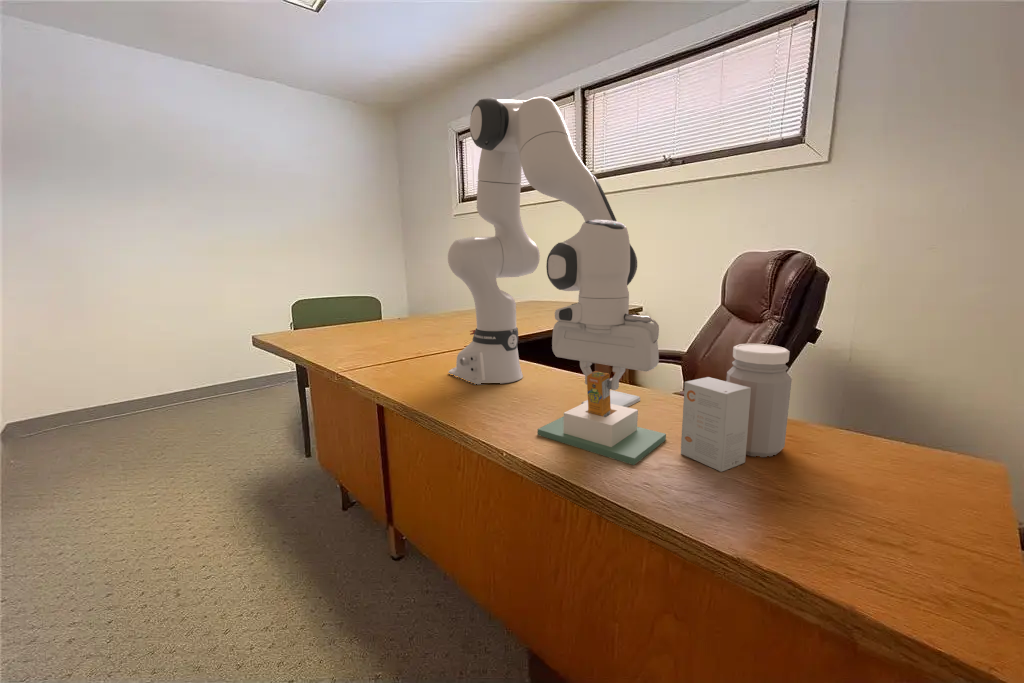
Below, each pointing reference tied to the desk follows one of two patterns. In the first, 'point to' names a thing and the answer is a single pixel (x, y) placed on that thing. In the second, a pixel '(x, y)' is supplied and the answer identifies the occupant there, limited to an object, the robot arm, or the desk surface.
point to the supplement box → (598, 394)
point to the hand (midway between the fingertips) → (601, 386)
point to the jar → (763, 394)
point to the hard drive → (622, 399)
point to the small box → (715, 422)
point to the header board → (616, 452)
